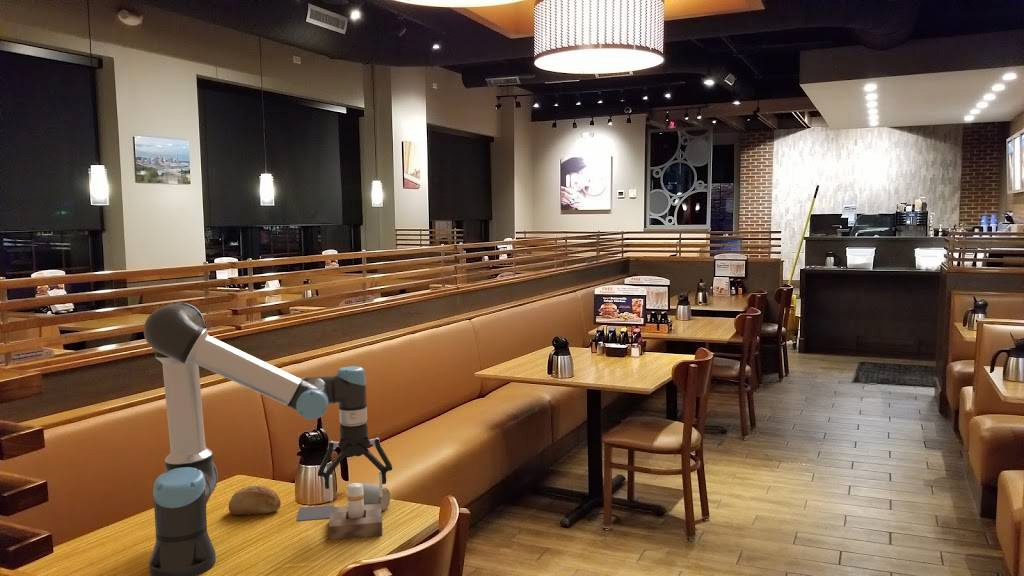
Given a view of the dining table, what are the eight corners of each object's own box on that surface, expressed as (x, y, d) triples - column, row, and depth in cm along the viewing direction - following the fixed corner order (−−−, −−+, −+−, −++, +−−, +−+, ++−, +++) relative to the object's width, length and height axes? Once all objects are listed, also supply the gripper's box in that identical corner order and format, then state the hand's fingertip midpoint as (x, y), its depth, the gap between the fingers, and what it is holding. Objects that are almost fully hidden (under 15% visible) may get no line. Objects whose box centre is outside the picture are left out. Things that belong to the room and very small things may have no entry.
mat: (296, 522, 211) (296, 520, 211) (299, 509, 221) (299, 507, 221) (332, 519, 213) (332, 517, 213) (334, 506, 223) (333, 505, 223)
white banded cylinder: (347, 531, 204) (346, 489, 203) (348, 524, 208) (347, 483, 207) (364, 529, 205) (363, 487, 204) (364, 523, 209) (363, 482, 208)
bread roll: (277, 518, 215) (276, 491, 214) (224, 520, 213) (222, 493, 213) (283, 505, 224) (282, 480, 224) (232, 508, 223) (231, 482, 222)
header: (328, 541, 198) (327, 526, 198) (331, 520, 212) (330, 507, 212) (382, 536, 201) (382, 522, 200) (382, 516, 215) (381, 503, 215)
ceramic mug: (380, 515, 216) (380, 490, 215) (355, 513, 218) (355, 487, 217) (396, 503, 226) (396, 478, 225) (372, 500, 228) (371, 476, 228)
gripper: (305, 429, 198) (309, 506, 200) (399, 423, 203) (402, 498, 204) (308, 422, 205) (311, 496, 207) (398, 416, 210) (401, 488, 212)
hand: (356, 497), depth 206 cm, fingers open, 13 cm apart
